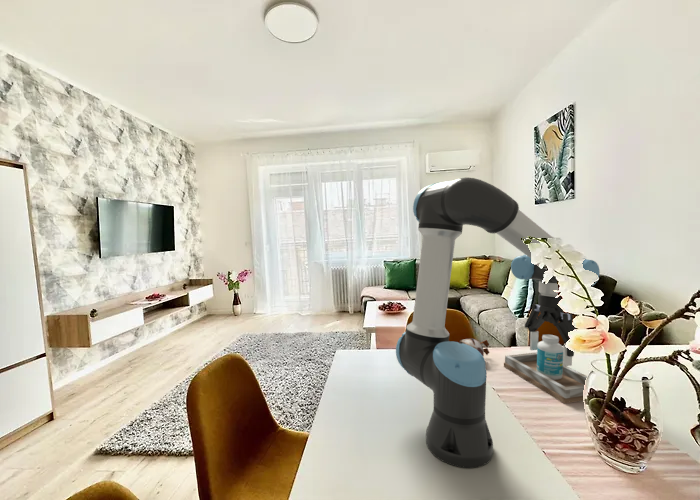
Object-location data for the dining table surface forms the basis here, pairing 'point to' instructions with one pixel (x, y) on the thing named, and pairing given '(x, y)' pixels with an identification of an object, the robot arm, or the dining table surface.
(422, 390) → the dining table surface
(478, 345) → the decorative duck model
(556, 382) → the grey rimmed shallow tray
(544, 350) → the pill bottle
